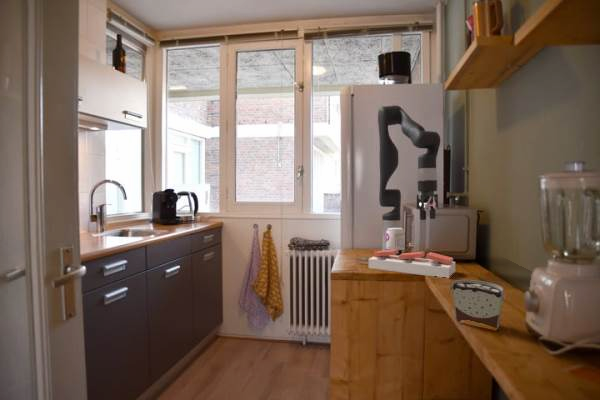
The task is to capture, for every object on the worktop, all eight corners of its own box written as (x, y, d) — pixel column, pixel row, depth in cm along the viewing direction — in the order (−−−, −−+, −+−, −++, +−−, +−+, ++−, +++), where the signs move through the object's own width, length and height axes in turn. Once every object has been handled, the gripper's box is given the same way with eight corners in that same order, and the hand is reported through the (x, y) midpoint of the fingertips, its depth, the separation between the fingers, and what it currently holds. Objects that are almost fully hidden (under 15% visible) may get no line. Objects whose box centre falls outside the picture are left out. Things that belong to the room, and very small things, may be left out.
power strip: (362, 261, 162) (362, 250, 161) (455, 271, 139) (455, 259, 139) (351, 266, 152) (351, 254, 152) (448, 278, 129) (448, 265, 129)
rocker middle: (403, 256, 149) (403, 253, 149) (424, 255, 144) (424, 251, 144) (399, 259, 144) (398, 255, 144) (420, 257, 139) (420, 253, 139)
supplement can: (385, 261, 160) (385, 229, 160) (387, 257, 168) (387, 227, 168) (404, 262, 158) (403, 229, 157) (404, 258, 166) (404, 227, 165)
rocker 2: (429, 255, 143) (430, 252, 143) (452, 261, 138) (453, 257, 138) (425, 258, 138) (426, 254, 138) (449, 264, 133) (450, 260, 133)
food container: (510, 325, 85) (510, 285, 84) (504, 333, 80) (505, 290, 80) (457, 313, 93) (457, 276, 93) (449, 320, 88) (449, 281, 88)
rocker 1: (379, 254, 155) (378, 250, 155) (398, 252, 150) (398, 249, 150) (374, 256, 150) (373, 253, 150) (394, 255, 145) (393, 251, 145)
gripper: (426, 181, 150) (427, 218, 150) (410, 179, 140) (410, 219, 140) (443, 180, 144) (444, 218, 144) (428, 178, 134) (428, 220, 134)
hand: (427, 219), depth 142 cm, fingers open, 8 cm apart
